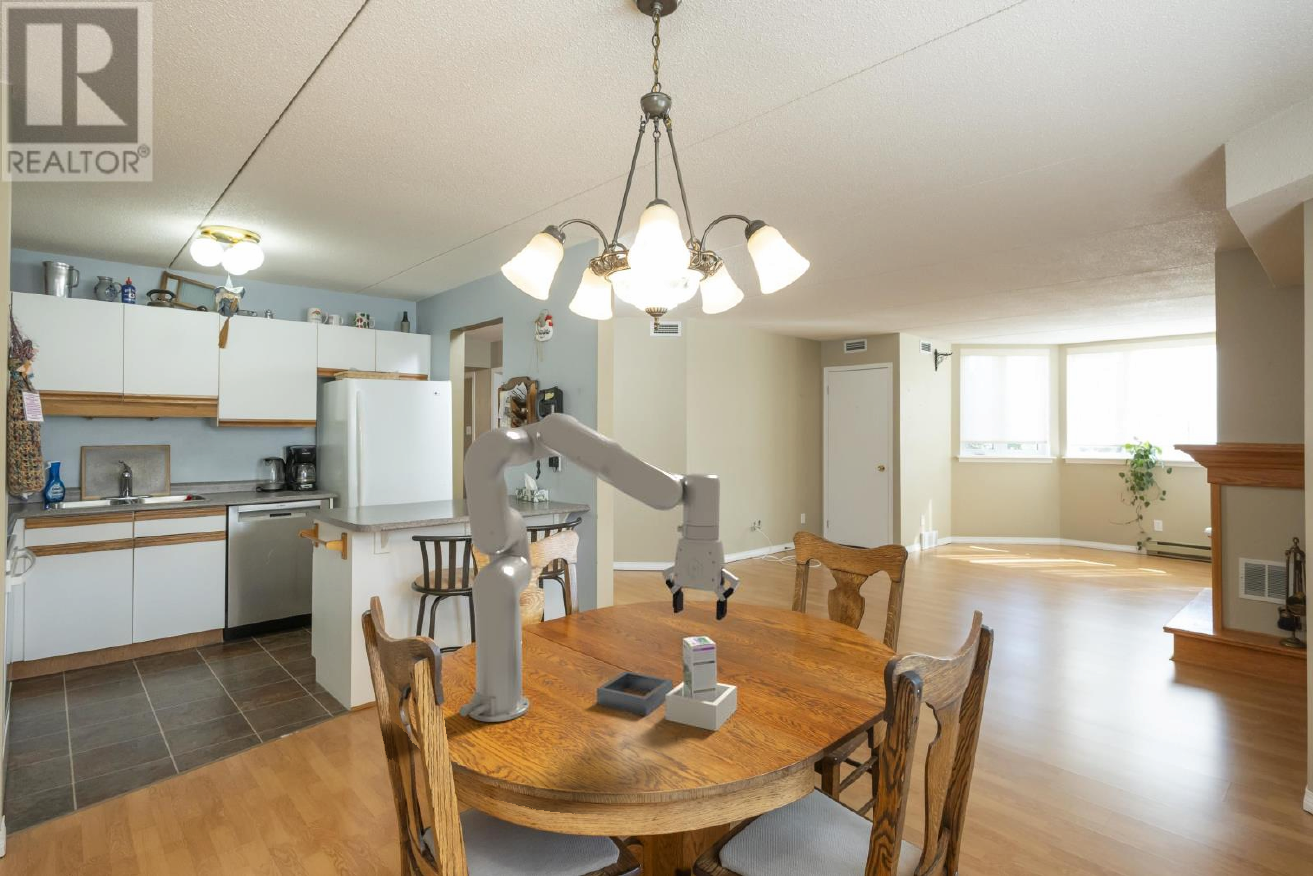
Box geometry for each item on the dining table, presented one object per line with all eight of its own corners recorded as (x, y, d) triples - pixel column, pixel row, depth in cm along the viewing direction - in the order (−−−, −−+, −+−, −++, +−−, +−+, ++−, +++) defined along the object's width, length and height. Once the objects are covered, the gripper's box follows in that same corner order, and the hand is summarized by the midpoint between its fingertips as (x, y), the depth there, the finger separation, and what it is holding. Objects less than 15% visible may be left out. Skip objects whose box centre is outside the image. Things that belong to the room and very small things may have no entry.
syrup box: (718, 713, 132) (718, 642, 132) (691, 717, 131) (691, 645, 131) (708, 702, 138) (708, 634, 138) (682, 706, 136) (681, 637, 136)
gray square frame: (646, 716, 133) (646, 699, 133) (596, 705, 139) (596, 688, 139) (672, 695, 144) (672, 680, 144) (625, 686, 150) (625, 670, 150)
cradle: (716, 731, 126) (716, 705, 126) (665, 719, 132) (665, 695, 132) (736, 710, 136) (736, 686, 136) (689, 700, 142) (689, 677, 142)
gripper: (655, 531, 135) (654, 613, 135) (733, 539, 127) (731, 626, 127) (672, 527, 142) (670, 605, 142) (746, 534, 133) (744, 617, 133)
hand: (699, 615), depth 134 cm, fingers open, 9 cm apart
